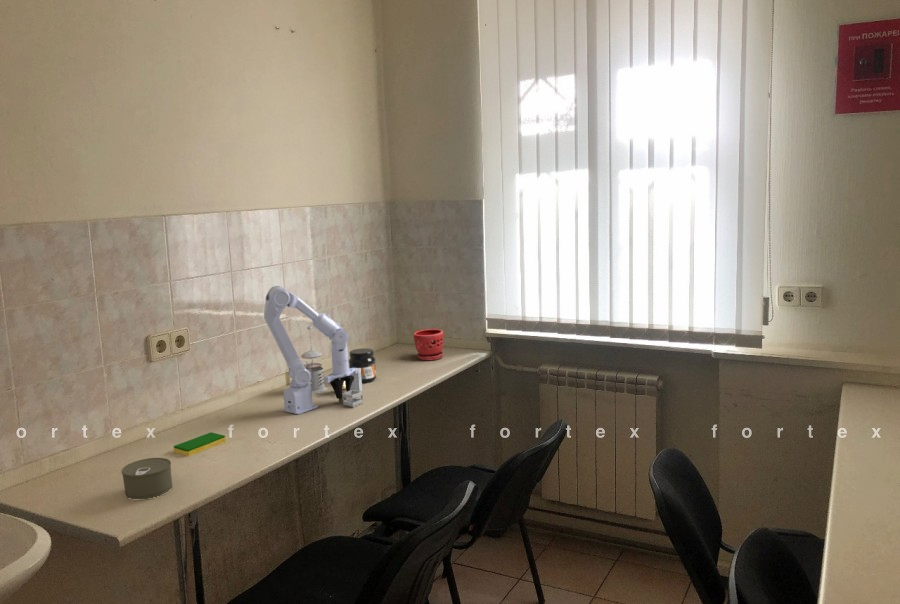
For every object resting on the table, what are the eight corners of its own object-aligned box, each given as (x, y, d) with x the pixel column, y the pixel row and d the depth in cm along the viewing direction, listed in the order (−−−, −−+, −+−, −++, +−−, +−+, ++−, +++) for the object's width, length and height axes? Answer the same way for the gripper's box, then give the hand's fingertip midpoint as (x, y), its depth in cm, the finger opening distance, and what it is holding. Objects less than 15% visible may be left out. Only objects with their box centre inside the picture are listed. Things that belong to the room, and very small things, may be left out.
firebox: (353, 407, 257) (352, 395, 256) (343, 405, 260) (342, 393, 259) (363, 403, 261) (362, 391, 260) (353, 401, 264) (352, 389, 263)
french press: (330, 386, 286) (325, 323, 282) (322, 394, 274) (317, 329, 270) (305, 386, 287) (300, 323, 283) (296, 395, 275) (291, 329, 271)
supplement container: (372, 384, 286) (370, 354, 284) (346, 383, 288) (344, 354, 286) (379, 376, 296) (377, 347, 294) (354, 376, 298) (352, 347, 296)
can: (179, 480, 199) (177, 456, 198) (164, 499, 188) (161, 474, 186) (135, 482, 199) (132, 458, 198) (116, 502, 187) (113, 476, 186)
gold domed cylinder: (343, 404, 261) (341, 382, 260) (336, 403, 263) (335, 381, 262) (349, 402, 264) (347, 380, 262) (343, 400, 265) (341, 379, 264)
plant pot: (432, 353, 332) (430, 327, 330) (450, 357, 322) (449, 331, 320) (409, 358, 324) (407, 332, 322) (427, 363, 314) (425, 336, 312)
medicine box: (362, 389, 279) (361, 367, 277) (359, 393, 274) (358, 370, 273) (342, 390, 279) (340, 368, 278) (339, 393, 275) (337, 371, 274)
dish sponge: (173, 453, 221) (172, 445, 221) (211, 439, 232) (210, 431, 232) (188, 457, 217) (187, 449, 217) (226, 442, 228) (225, 435, 228)
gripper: (333, 366, 253) (335, 404, 255) (362, 357, 264) (364, 393, 266) (319, 363, 257) (321, 401, 259) (348, 355, 268) (351, 390, 270)
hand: (342, 397), depth 263 cm, fingers closed on gold domed cylinder, 3 cm apart
